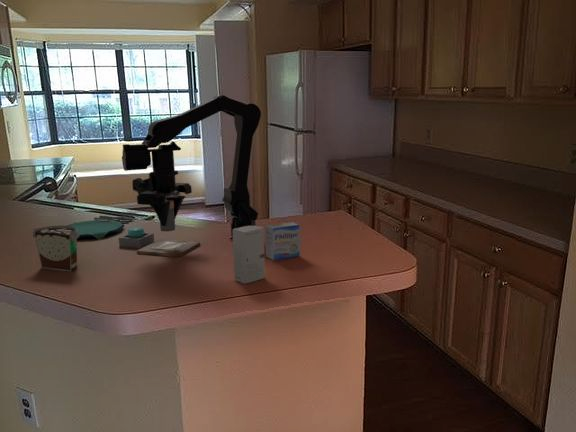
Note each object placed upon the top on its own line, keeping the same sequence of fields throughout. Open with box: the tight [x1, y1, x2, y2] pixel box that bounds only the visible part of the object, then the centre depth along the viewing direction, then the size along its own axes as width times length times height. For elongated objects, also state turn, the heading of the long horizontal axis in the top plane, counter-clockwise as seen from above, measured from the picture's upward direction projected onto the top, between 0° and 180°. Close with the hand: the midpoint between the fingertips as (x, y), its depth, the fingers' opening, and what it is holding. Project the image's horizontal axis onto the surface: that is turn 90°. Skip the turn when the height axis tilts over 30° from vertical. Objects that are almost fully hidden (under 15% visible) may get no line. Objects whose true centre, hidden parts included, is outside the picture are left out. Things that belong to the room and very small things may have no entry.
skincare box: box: [232, 225, 266, 285], centre depth 113 cm, size 6×4×12 cm
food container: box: [32, 224, 80, 272], centre depth 124 cm, size 12×6×10 cm, turn 71°
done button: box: [127, 227, 145, 238], centre depth 143 cm, size 4×4×2 cm
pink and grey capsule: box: [159, 200, 176, 232], centre depth 136 cm, size 4×4×8 cm
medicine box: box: [265, 221, 301, 262], centre depth 129 cm, size 8×4×9 cm, turn 118°
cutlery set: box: [68, 215, 139, 240], centre depth 163 cm, size 20×30×2 cm, turn 170°
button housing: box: [118, 231, 155, 249], centre depth 144 cm, size 7×7×3 cm
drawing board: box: [136, 238, 201, 258], centre depth 138 cm, size 13×12×1 cm
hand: (167, 223), depth 137 cm, fingers closed on pink and grey capsule, 4 cm apart
